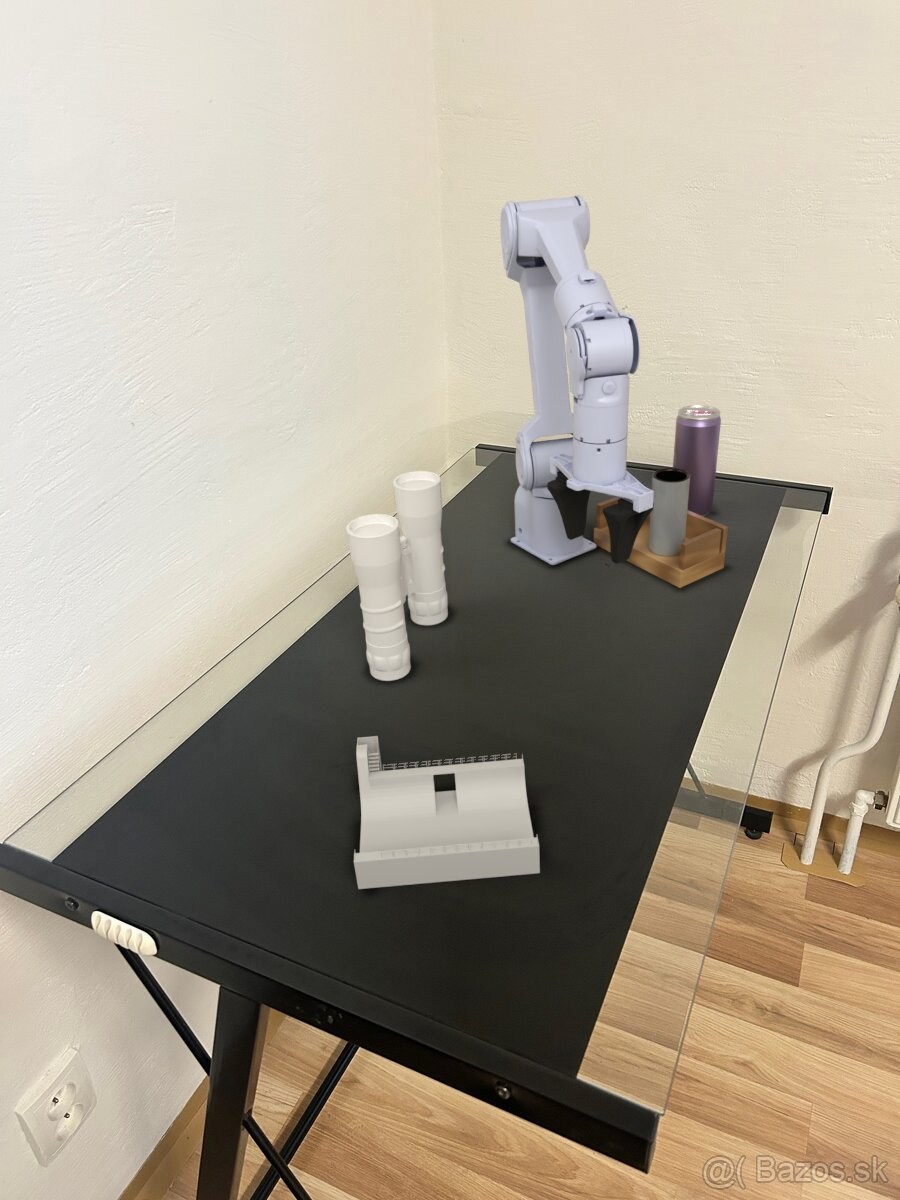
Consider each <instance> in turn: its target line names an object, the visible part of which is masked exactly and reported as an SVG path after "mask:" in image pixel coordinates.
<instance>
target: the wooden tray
mask: <svg viewBox="0 0 900 1200" xmlns="http://www.w3.org/2000/svg"><path fill="white" fill-rule="evenodd" d="M614 504H618V499H616V498H614V497H611V498H609V499H607V500H604V501H601V502H599V503H596V508H595V515H596V516H595V527H594V528H593V543H595V544H596V545H597V547H599V548H601V549H603V550H605V551H607V552H609V553H611V551H610V533H609V528H608V524H607V521H606V518H605V516H604V514H603V509H604V508H606V507H609V506H611V505H614ZM649 528H650V514H649V515H648V517H647V518H646V520H645V521H644V523H643V525H642V527H641V528H640V530H639V533H638V535H637V537H636V540H635V543H634V545H633V548H632V552H631V555H630V558H629V559H627V560H625V561H626V562H628V563H630V564H632V565H633V566H636V567H638V568H640V569H642V570H644V571H646V572H648V573H649V574H652V575H653V576H655V577H657V578H659V579H660V580H663V581H665V582H666V583H669V584H671V585H673V586H675V587H676V588H679V589H681V588H683V587H686V586H687V585H690V584H692V583H694V582H696V581H698V580H701V579H703V578H705V577H708V576H710V575H711V574H714V573H716V572H718V571H720V570H723V569H724V567H725V557H726V552H727V551H726V549H727V539H728V530H729V526H726V525H724V524H723V523H719V522H717V521H715V520H713V519H711V518H708V517H706V516H704V517H703V516H701V515H698V514H696V513H694V512H691V511H689V510H687V522H686V535H685V542H682V543H681V545H680V554H678V555H674V556H661V555H657V554H655V553H653V552H651V551H650V550H649Z"/></svg>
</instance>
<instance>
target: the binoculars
mask: <svg viewBox="0 0 900 1200" xmlns="http://www.w3.org/2000/svg"><path fill="white" fill-rule="evenodd" d="M441 480H442V478H441V476H440V475H439V474H437V473H436V472H433V471H429V470H412V471H407V472H404V473H401V474H398V475H397V476H396V477H395V478H394V479H393V480H392V486H393V493H394V503H395V512H396V516H397V518H396V517H394V516H392V515H389V514H386V513H371V514H364V515H360V516H358V517H355V518H354V519H352V520H350V521H349V522H348V523H347V524H346V527H345V531H346V534H347V542H348V549H349V557H350V561H351V564H352V567H353V571H354V575H355V577H356V581H357V583H358V590H359V596H360V597H359V598H360V603H359V606H360V609H361V612H362V619H363V623H362V627H363V629H364V634H365V642H366V651H365V654H366V661H367V663H368V666H369V673H370V675H371V676H372V677H373V678H374V679H376V680H379V681H383V682H384V681H385V682H391V681H396V680H397V681H398V680H399V679H403V678H404V677H405V676H407V675H408V674H409V673H410V671H411V668H412V666H411V647H410V643H409V639H408V632H407V625H406V619H405V618H406V617H405V616H406V615H405V609H404V608H405V607H404V606H405V605H404V604H405V603H406V601H407V605H408V609H409V614H410V619H411V621H412V622H413V623H414V624H417V625H419V626H434V625H438V624H440V623H443V622H444V621H445V620H446V619H447V618H448V615H449V611H448V606H449V600H448V591H447V587H446V586H447V583H446V580H445V579H446V578H445V570H446V565H445V563H444V554H443V552H445V551H444V549H445V548H444V546H443V542H442V530H441V529H442V520H443V519H442V518H443V516H442V515H443V497H442V495H443V494H442V483H441V482H442V481H441ZM400 530H401V534H402V535H401V534H400Z"/></svg>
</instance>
